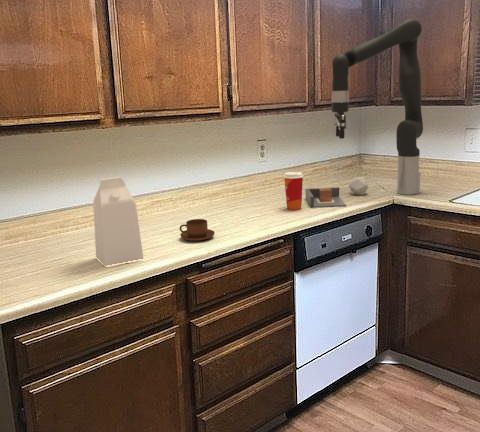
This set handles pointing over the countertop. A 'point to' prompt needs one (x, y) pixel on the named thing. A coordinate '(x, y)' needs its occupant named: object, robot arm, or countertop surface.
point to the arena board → (314, 202)
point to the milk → (116, 223)
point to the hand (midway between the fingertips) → (340, 137)
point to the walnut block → (325, 195)
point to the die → (358, 186)
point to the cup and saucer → (196, 230)
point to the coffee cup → (293, 190)
